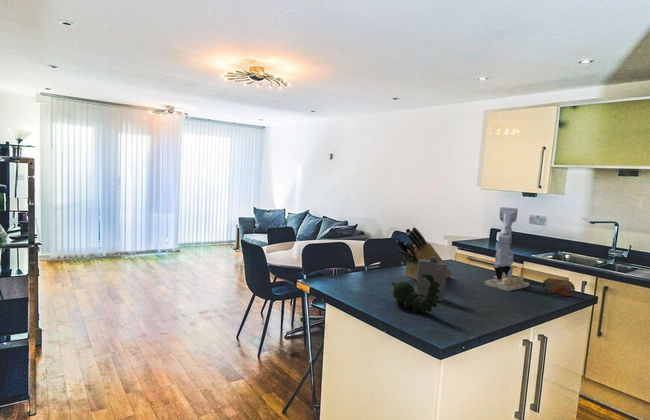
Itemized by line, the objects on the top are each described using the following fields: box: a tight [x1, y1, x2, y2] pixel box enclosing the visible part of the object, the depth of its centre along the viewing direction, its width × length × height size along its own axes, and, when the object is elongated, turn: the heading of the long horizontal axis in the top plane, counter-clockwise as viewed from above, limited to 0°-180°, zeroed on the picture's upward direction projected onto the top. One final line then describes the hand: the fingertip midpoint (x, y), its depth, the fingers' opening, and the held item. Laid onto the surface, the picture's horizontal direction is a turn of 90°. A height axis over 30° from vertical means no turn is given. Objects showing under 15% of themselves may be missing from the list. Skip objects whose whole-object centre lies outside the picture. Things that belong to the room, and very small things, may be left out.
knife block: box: [395, 226, 453, 281], centre depth 229 cm, size 11×35×31 cm, turn 115°
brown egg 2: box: [515, 275, 525, 284], centre depth 222 cm, size 4×4×6 cm
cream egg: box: [496, 272, 506, 282], centre depth 223 cm, size 4×4×6 cm
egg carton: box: [483, 277, 530, 292], centre depth 221 cm, size 21×14×3 cm
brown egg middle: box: [509, 276, 517, 285], centre depth 218 cm, size 4×4×6 cm
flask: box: [415, 256, 448, 302], centre depth 192 cm, size 15×6×20 cm, turn 45°
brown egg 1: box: [502, 278, 511, 287], centre depth 214 cm, size 4×4×6 cm
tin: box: [542, 277, 576, 297], centre depth 209 cm, size 15×3×8 cm, turn 62°
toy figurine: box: [391, 273, 440, 314], centre depth 172 cm, size 9×19×25 cm
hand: (501, 278), depth 223 cm, fingers open, 4 cm apart
